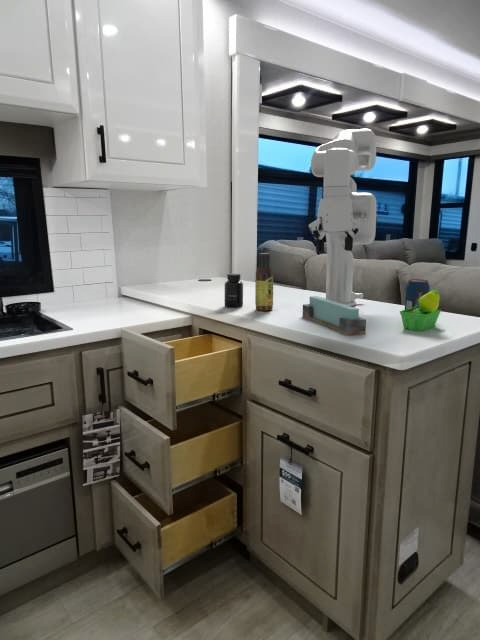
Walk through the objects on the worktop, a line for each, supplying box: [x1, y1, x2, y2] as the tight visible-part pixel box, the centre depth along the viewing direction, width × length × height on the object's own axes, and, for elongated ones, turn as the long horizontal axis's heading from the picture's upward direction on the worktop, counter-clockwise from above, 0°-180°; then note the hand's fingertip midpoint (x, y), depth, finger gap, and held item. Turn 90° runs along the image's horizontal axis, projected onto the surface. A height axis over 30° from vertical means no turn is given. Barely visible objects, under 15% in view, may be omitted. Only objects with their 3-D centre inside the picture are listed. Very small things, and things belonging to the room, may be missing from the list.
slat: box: [309, 295, 360, 326], centre depth 134 cm, size 24×2×6 cm, turn 19°
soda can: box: [404, 278, 431, 310], centre depth 142 cm, size 7×7×12 cm
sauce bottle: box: [254, 252, 274, 312], centre depth 156 cm, size 7×6×20 cm
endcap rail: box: [302, 303, 367, 336], centre depth 134 cm, size 6×27×4 cm, turn 19°
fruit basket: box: [399, 289, 442, 332], centre depth 128 cm, size 11×9×11 cm
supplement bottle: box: [224, 273, 244, 309], centre depth 164 cm, size 7×7×12 cm
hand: (334, 251), depth 136 cm, fingers open, 9 cm apart
